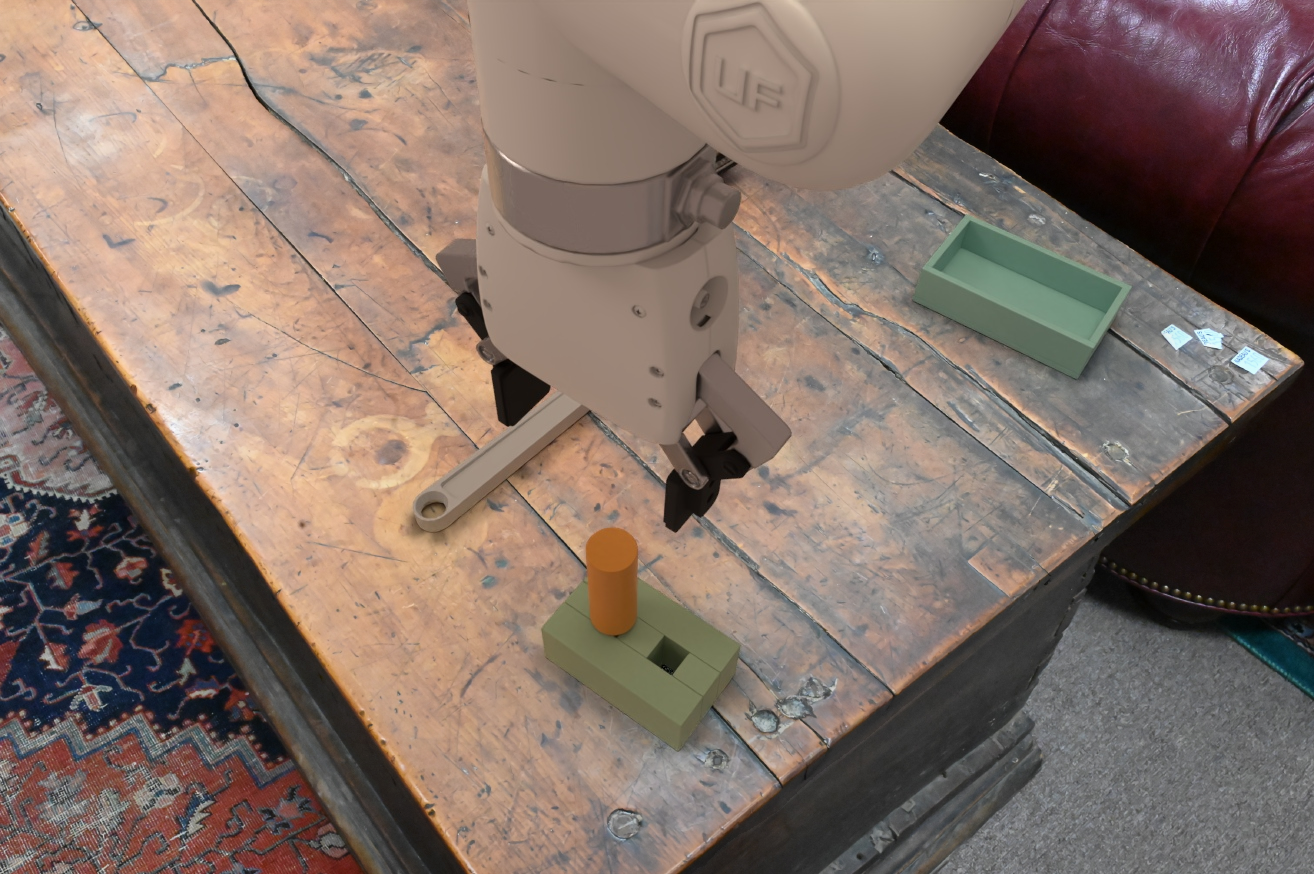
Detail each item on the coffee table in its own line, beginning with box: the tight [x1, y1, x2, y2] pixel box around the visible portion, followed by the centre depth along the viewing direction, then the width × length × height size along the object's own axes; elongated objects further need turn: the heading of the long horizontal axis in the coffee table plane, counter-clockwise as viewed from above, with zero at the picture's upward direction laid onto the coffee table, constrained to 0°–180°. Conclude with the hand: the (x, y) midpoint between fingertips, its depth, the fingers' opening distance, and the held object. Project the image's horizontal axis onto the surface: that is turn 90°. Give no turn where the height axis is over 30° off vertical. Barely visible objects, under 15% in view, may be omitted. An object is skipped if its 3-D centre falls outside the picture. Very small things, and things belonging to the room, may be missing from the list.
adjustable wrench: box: [411, 390, 591, 533], centre depth 74 cm, size 25×6×2 cm, turn 132°
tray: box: [912, 213, 1133, 380], centre depth 81 cm, size 8×14×4 cm, turn 54°
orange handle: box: [585, 526, 639, 638], centre depth 59 cm, size 3×3×12 cm
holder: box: [540, 575, 742, 752], centre depth 61 cm, size 6×10×4 cm, turn 54°
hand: (604, 455), depth 47 cm, fingers open, 9 cm apart
